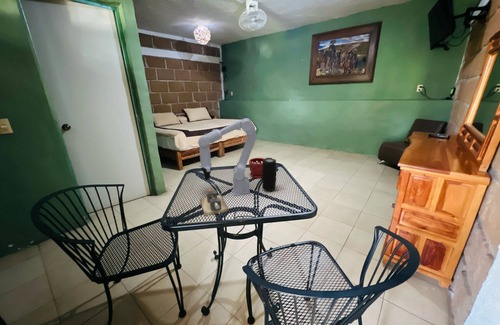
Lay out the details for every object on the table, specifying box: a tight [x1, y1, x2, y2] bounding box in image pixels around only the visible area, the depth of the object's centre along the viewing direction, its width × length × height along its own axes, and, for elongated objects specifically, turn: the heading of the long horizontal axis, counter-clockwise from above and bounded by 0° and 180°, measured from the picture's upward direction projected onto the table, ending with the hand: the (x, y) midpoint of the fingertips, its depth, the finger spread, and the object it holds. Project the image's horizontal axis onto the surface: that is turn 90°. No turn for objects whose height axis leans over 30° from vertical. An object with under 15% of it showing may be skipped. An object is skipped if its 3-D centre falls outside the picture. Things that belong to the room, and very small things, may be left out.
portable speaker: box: [261, 157, 277, 193], centre depth 123 cm, size 9×9×20 cm
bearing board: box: [199, 189, 229, 217], centre depth 107 cm, size 12×16×7 cm
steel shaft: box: [206, 188, 219, 209], centre depth 106 cm, size 4×18×4 cm, turn 22°
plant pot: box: [248, 157, 265, 179], centre depth 145 cm, size 13×13×12 cm
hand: (207, 179), depth 118 cm, fingers closed
